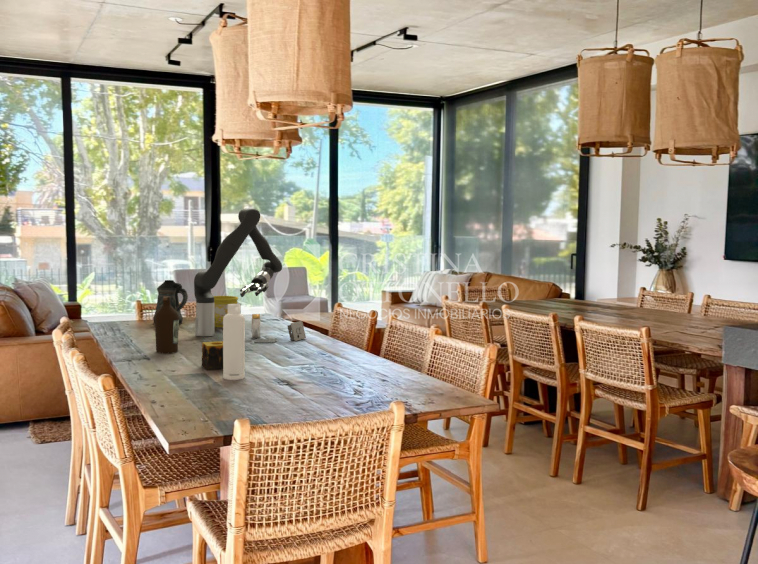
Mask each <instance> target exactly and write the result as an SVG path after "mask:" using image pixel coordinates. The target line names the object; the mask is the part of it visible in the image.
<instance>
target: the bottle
mask: <svg viewBox="0 0 758 564" xmlns="http://www.w3.org/2000/svg"><path fill="white" fill-rule="evenodd" d="M245 322H246V317H245V316H244V315H243V314H242V313H241V304H239V303H237V304H228V314H226V315H225V316H224V317H223V327H222V330H223V331H222V332H223V333H222V334H223V335H222V341H223V369H222V371H223V374H222V378H223V379H224V380H229V381H230V380H231V381H237V380H243V379H244V378H245V377H246V375H245V372H246V366H245V365H246V364H245V363H246V361H245V360H246V354H245V353H246V349H245V348H246V346H245V345H246V340H245V339H246V338H245V337H246V336H245V333H246V332H245V331H246V326H245V325H246V323H245Z"/></svg>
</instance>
